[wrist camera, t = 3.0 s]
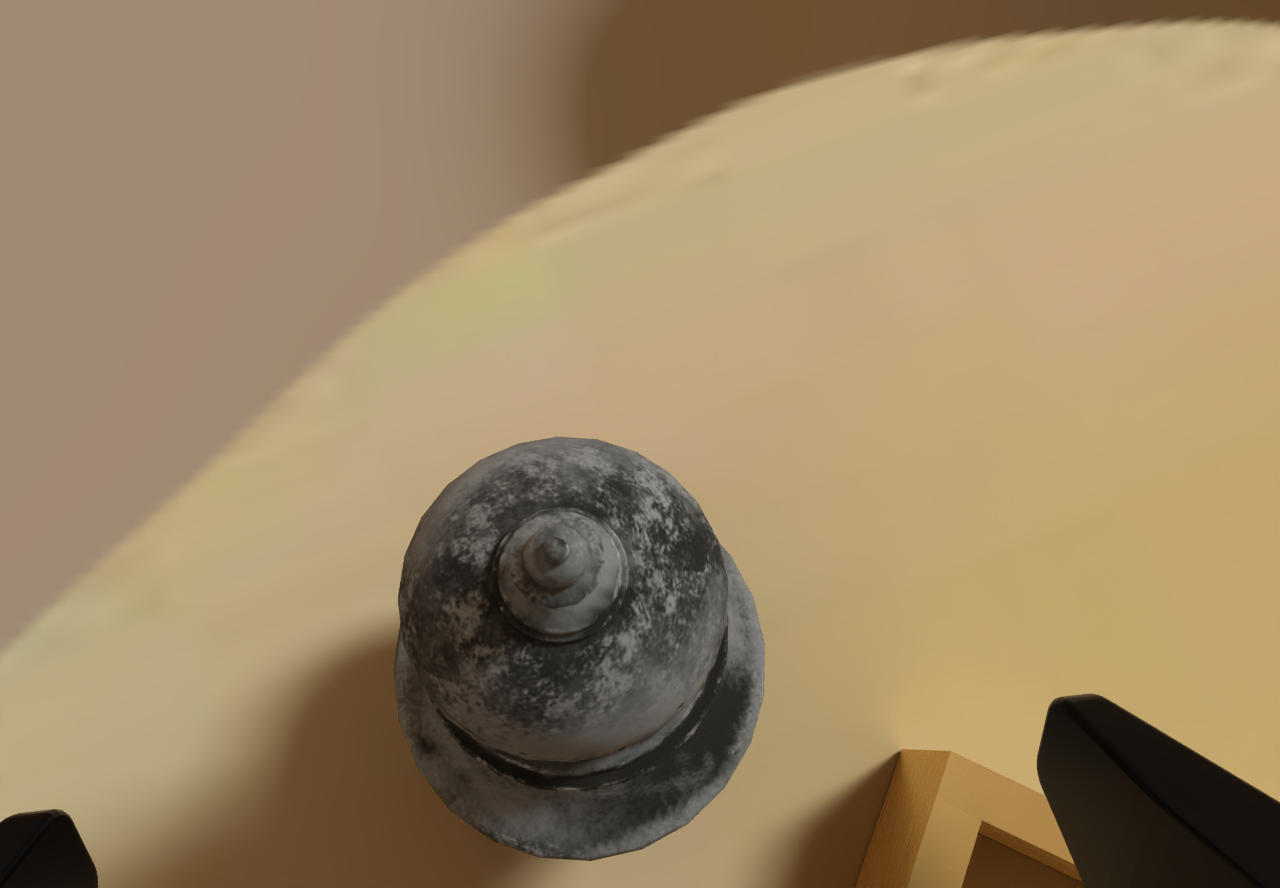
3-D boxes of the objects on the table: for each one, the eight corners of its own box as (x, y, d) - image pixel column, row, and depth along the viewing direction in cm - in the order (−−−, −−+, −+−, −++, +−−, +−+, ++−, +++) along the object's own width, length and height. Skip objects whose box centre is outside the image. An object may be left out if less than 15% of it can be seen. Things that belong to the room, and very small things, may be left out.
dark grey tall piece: (435, 535, 18) (148, 187, 7) (718, 518, 18) (912, 161, 7) (433, 848, 16) (28, 1117, 5) (749, 822, 16) (1080, 1014, 5)
